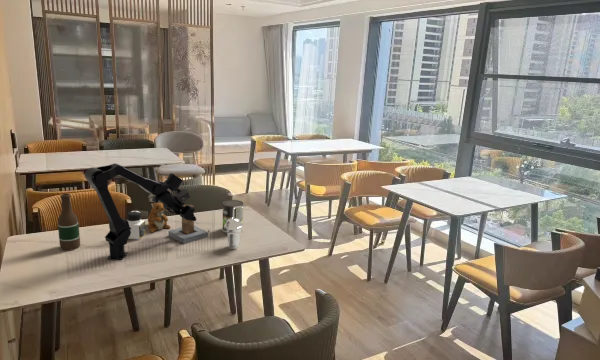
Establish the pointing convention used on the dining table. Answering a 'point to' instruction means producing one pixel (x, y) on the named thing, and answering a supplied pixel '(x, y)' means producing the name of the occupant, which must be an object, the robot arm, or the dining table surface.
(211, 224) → the dining table surface
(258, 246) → the dining table surface
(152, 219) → the stuffed squirrel
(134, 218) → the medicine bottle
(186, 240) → the socket
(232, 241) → the cup with straw
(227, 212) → the coffee can
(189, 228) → the peg
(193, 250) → the dining table surface
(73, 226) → the beer bottle
